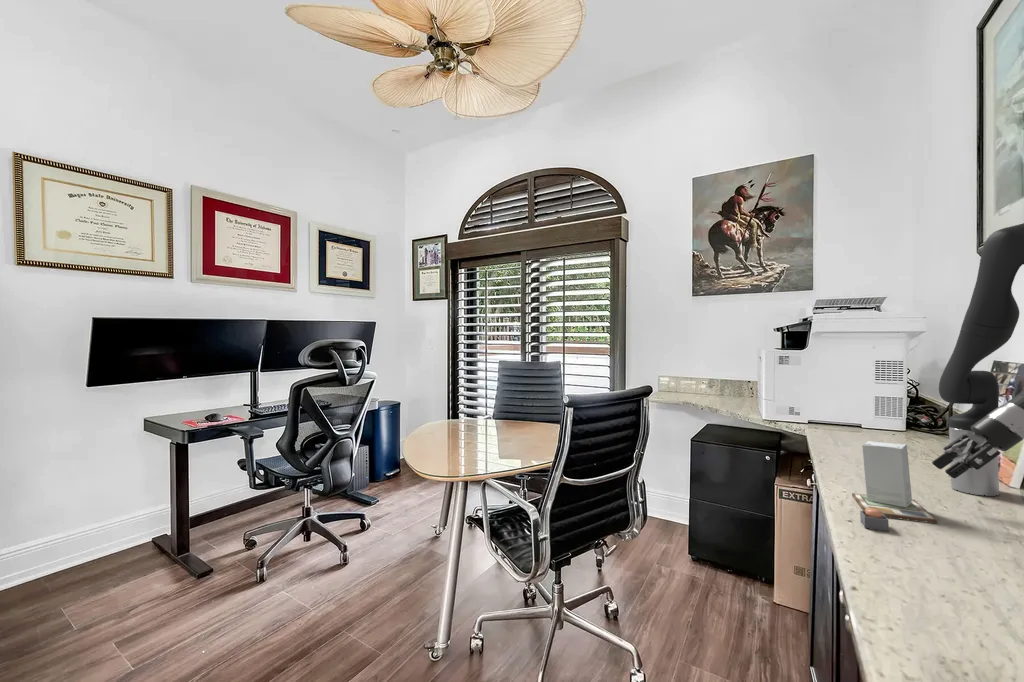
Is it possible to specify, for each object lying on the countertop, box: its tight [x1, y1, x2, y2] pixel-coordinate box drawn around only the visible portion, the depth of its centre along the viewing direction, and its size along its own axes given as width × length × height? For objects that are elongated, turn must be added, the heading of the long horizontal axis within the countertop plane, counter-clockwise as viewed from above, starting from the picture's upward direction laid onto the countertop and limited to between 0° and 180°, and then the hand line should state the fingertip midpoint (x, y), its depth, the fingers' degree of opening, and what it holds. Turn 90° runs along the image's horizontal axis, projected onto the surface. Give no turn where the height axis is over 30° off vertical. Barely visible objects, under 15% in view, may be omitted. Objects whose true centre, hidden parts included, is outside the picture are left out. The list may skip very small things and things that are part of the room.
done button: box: [865, 508, 882, 518], centre depth 101 cm, size 3×3×2 cm
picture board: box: [851, 492, 938, 524], centre depth 112 cm, size 15×13×1 cm
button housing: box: [859, 510, 890, 532], centre depth 101 cm, size 4×4×3 cm
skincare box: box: [861, 440, 913, 508], centre depth 114 cm, size 8×6×15 cm
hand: (942, 470), depth 109 cm, fingers open, 8 cm apart
